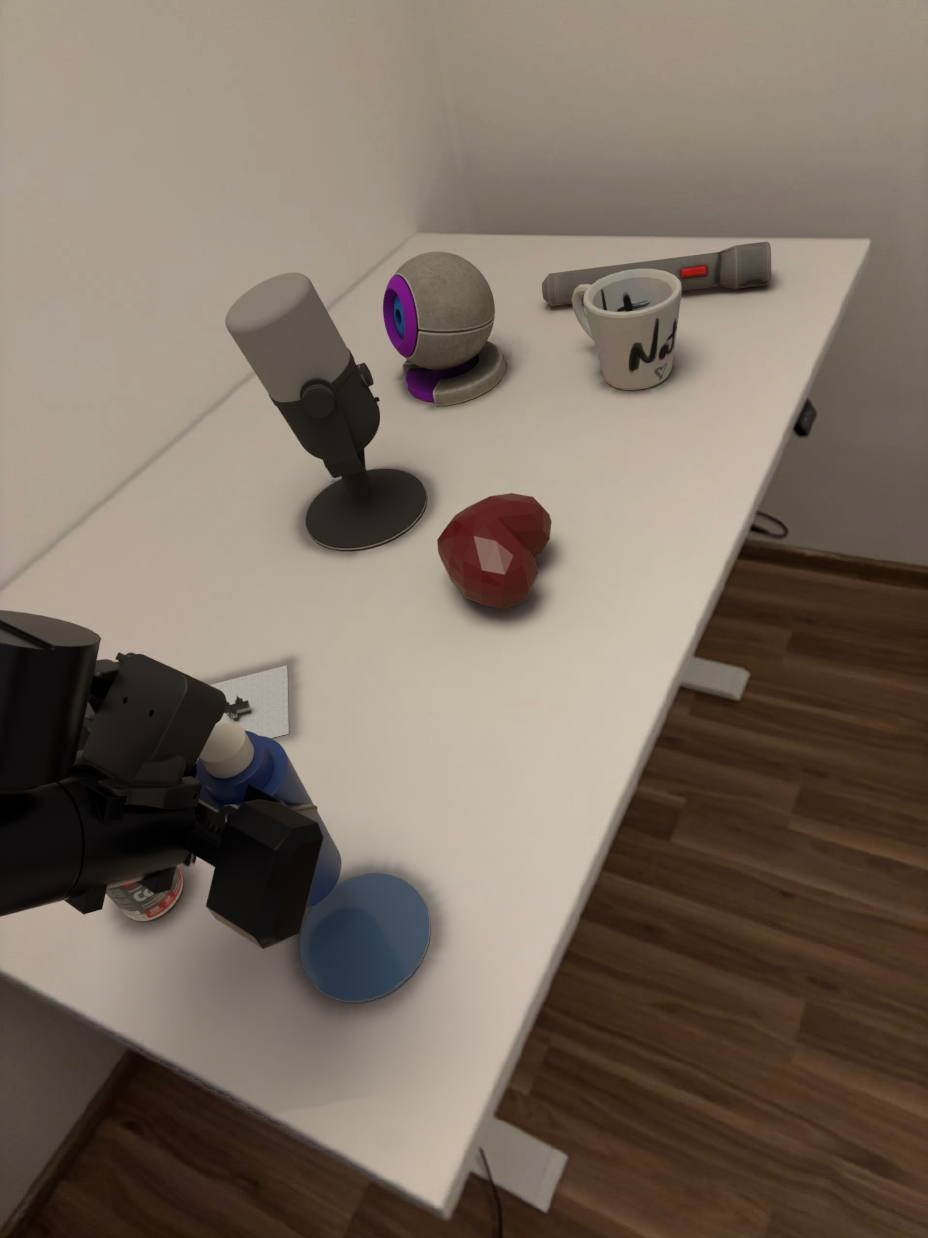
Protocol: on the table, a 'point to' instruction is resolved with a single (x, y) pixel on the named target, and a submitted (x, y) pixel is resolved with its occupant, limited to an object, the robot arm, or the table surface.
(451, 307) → the webcam
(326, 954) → the blue coaster
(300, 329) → the microphone
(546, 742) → the table surface
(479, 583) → the heart
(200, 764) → the blue bottle
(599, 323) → the mug
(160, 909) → the pill bottle
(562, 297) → the flashlight
